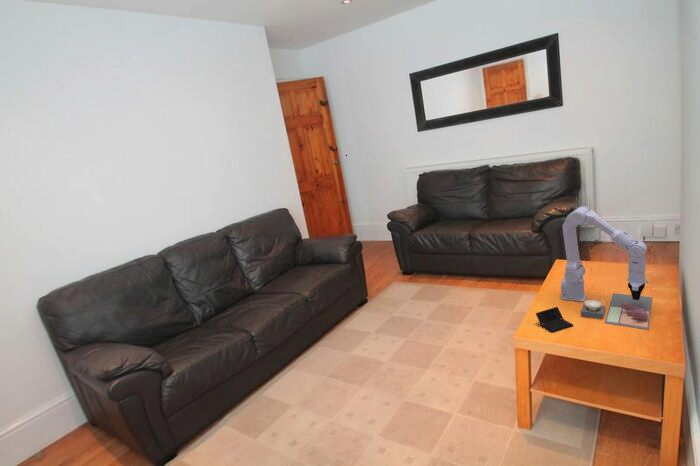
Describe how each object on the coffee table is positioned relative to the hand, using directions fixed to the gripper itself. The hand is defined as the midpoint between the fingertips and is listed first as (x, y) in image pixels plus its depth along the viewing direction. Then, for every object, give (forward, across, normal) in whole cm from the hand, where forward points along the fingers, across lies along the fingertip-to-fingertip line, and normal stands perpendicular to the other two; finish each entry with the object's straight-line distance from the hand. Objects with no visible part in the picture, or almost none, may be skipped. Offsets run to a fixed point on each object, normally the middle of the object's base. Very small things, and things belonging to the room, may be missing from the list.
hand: (636, 299), depth 164 cm
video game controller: (+2, -10, +2) cm, 10 cm away
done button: (+3, -11, +14) cm, 18 cm away
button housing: (+4, -10, +14) cm, 18 cm away
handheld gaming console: (+5, -26, +26) cm, 37 cm away
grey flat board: (+4, -2, +2) cm, 5 cm away
